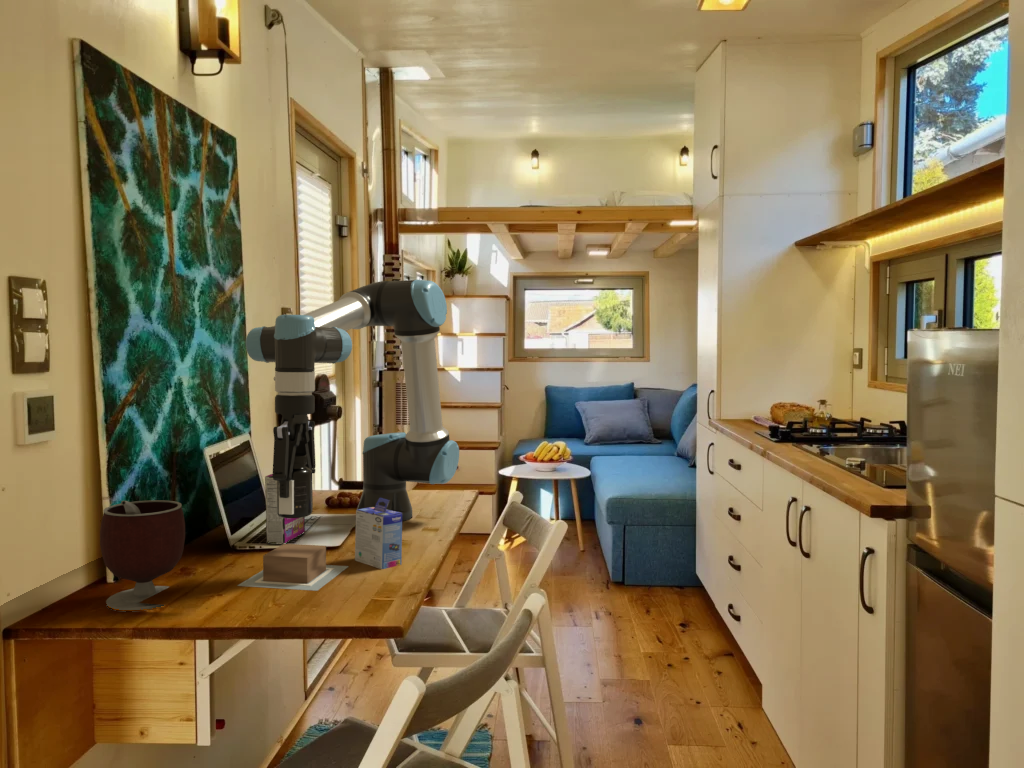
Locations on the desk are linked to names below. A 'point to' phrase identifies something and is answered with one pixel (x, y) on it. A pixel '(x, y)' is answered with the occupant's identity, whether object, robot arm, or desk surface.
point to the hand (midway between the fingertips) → (295, 509)
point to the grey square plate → (312, 585)
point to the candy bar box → (275, 525)
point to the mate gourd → (141, 547)
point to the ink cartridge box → (378, 536)
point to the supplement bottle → (300, 488)
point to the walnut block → (294, 563)
